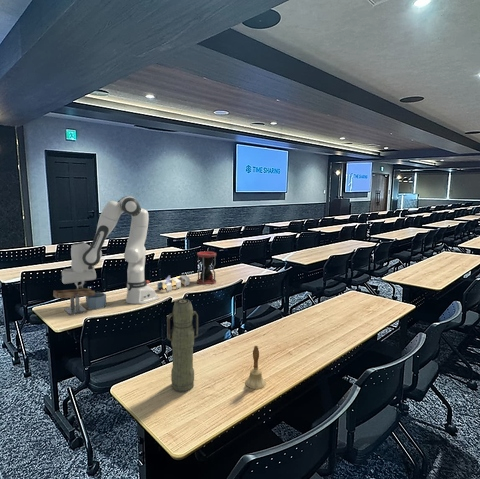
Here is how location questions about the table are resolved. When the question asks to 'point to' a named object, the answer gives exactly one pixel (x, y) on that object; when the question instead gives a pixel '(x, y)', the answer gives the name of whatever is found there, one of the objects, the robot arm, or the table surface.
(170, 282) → the diorama
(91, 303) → the blue-grey box
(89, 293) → the lever
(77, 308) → the lever stand
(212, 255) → the hourglass
